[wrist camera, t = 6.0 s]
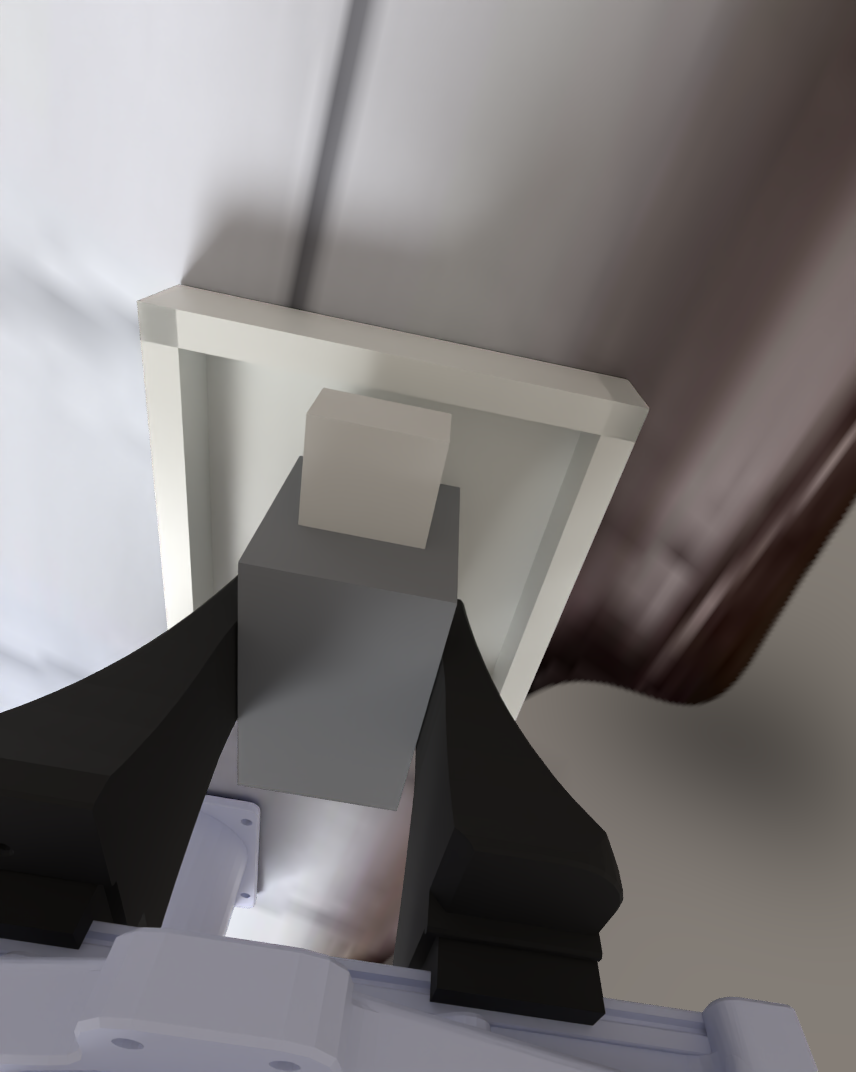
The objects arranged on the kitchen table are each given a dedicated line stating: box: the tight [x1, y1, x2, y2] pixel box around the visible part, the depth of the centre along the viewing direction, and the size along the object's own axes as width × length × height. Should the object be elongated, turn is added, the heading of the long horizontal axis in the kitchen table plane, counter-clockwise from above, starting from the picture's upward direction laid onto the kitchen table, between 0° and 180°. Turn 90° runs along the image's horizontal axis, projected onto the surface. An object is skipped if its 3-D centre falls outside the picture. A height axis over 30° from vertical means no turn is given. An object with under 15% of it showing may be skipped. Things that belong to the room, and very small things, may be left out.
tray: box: [137, 284, 650, 721], centre depth 16 cm, size 12×11×2 cm
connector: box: [238, 387, 460, 811], centre depth 13 cm, size 9×4×4 cm, turn 169°
